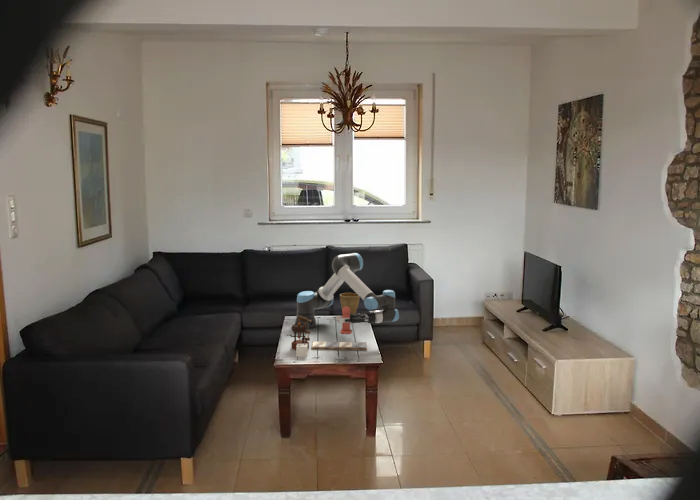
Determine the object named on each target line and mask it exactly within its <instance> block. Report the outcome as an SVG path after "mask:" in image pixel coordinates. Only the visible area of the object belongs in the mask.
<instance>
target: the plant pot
mask: <svg viewBox="0 0 700 500" xmlns="http://www.w3.org/2000/svg"><path fill="white" fill-rule="evenodd" d="M339 299H340V300H339V301H340V306H341V310H342V309H343V307H345V306H347V307H349V308H350V310H351V312H350V314H357V310H358V307H359V303H360V299H361V297H360V296H359V295H358V294H357V293H356V292H355V293H354V292H343V293H340V294H339Z"/></svg>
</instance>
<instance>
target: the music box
mask: <svg viewBox="0 0 700 500" xmlns="http://www.w3.org/2000/svg"><path fill="white" fill-rule="evenodd" d="M298 318H299V320H301V321H303V322H305V324H300V322H299V323H298V324H294V323H293V324H292V326H291V327H290V328H291V332H293V333H294V335H292V334H291V333H290V334H286V336H290V338H293V339H294V340H293V341H291V344H290V345H291V350H293V351H296V346H297V344H308V349H309V348H310V342H309V341H310V340H311V338H310V337H309V334H311V331H310V330H308V329H307V326H306V322H308V321H310V322H311V321H312V320H309V319H307V318H305V317H302V316H299V317H298ZM301 333H302V335H301ZM297 334H298V335H297ZM306 334H308V335H307V337H306Z"/></svg>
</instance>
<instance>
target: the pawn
mask: <svg viewBox="0 0 700 500" xmlns="http://www.w3.org/2000/svg"><path fill="white" fill-rule="evenodd" d="M341 312H342V315H341V316H342V318H350V312H351V310H350V308H349V307H347V306H345V307H343V309H342V308H341ZM341 326H342V328H341V329H340V330H339V331H340V334H342V335H350V334H351V335H352V333H353V329H351V322H347V323H341Z"/></svg>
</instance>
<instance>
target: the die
mask: <svg viewBox="0 0 700 500" xmlns="http://www.w3.org/2000/svg"><path fill="white" fill-rule="evenodd" d="M295 351H296V353H295V355H296V357H297V358H307V357H308V344H297V346H296V350H295Z"/></svg>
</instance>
